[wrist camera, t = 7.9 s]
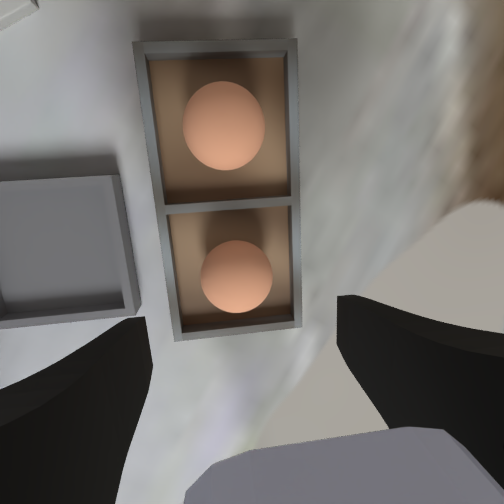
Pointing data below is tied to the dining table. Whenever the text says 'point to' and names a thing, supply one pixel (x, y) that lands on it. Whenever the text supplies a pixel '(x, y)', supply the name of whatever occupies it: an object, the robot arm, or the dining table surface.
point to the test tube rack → (15, 11)
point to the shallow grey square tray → (65, 252)
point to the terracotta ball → (236, 276)
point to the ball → (223, 125)
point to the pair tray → (224, 179)
